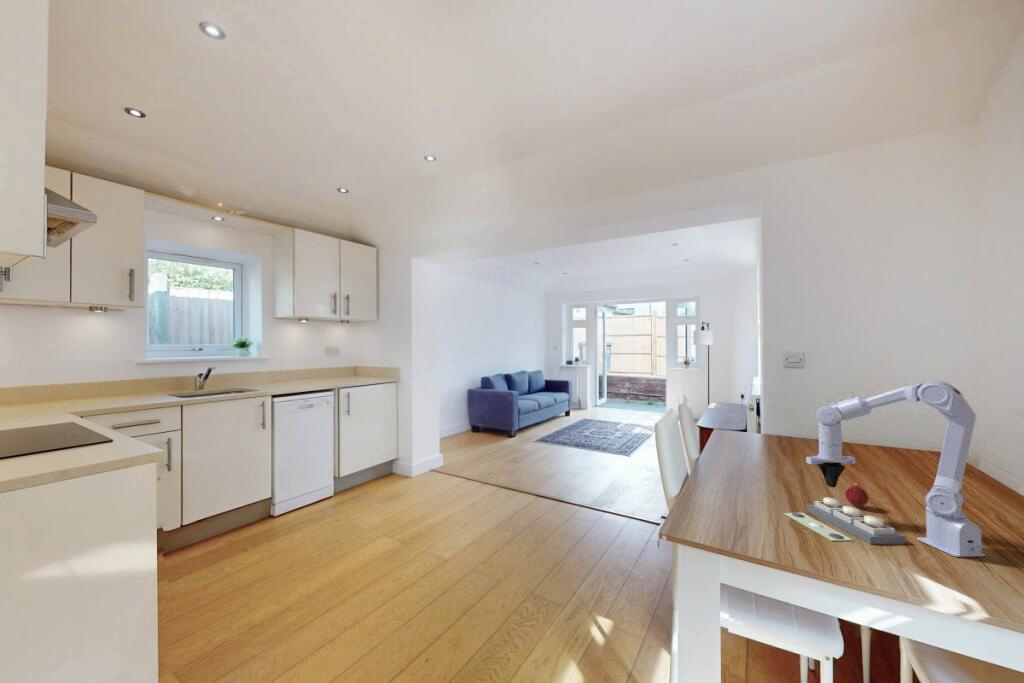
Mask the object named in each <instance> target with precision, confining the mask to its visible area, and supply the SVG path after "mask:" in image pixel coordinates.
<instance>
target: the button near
mask: <svg viewBox="0 0 1024 683" xmlns="http://www.w3.org/2000/svg"><path fill="white" fill-rule="evenodd" d="M884 522H885V521H884V519H882V518H880V517H877V516H874V515H873V516H872V515H865V516H864V523H865V524H866V525H868V526H870V527H874V528H884V524H885V523H884Z"/></svg>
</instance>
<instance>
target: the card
mask: <svg viewBox="0 0 1024 683" xmlns="http://www.w3.org/2000/svg"><path fill="white" fill-rule="evenodd" d="M783 514H784V515H786V516H787V517H789V518H791V519H792V520H794V521H796V522H798V523H799V524H800V525H803V526H805V527H806V528H808V529H810V530H812V531H813V532H815V533H817V534H819V535H821V536H822V537H824V538H826V539H827V540H829V541H831V542H853V541H854V539H852V538H850V537H848V536H847V535H845V534H843V533H841V532H839V531H837V530H836V529H834V528H832V527H831V526H828V525H826V524H825V523H823V522H822V521H821V522H820V521H819V520H817V519H815V518H813V517H811V516H810V515H807V514H806V513H803V512H784V513H783Z"/></svg>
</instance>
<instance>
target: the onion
mask: <svg viewBox="0 0 1024 683" xmlns="http://www.w3.org/2000/svg"><path fill="white" fill-rule="evenodd" d="M844 494H845V495H844V496H845V498H846V500H847V501H848V502H849V504H851V505H852V507H855V508H858V509H860V507H864V506H865V505H866V504H867V503H869V499H870V498H869V495H868V493H867V491H866V490H865V489H863V488H862V487H861V486H859V483H858V482H857V483H856V482H855V483H854V485H853V486H850V487H848V488H847V489H846V490H845V493H844Z"/></svg>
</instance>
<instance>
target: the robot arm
mask: <svg viewBox="0 0 1024 683" xmlns="http://www.w3.org/2000/svg"><path fill="white" fill-rule="evenodd" d="M903 401H909V402H915V403H918V402H919V401H921V402H922V403H924V404H925V405H928V406H929V407H931V408H934V409H936V410H937V411H938V413H939V412H940V413H941V414H942V415H943V416H944V417H945V418H946V419H947V425H946V428H945V429H946V430H945V435H944V438H943V442H942V443H943V444H942V447H941V448H942V449H941V453H940V458H939V463H938V467H937V473H936V476H935V479H934V483H933V486H932V487H931V488H930V491H929V492H928V493H927V494H926V495H925V498H924V499H925V500H924V501H925V504H926V505H927V506H925V529H926V534H925V535H926V537H917V538H916V540H917V541H920V542H922V543H924V544H926V545H929V546H931V547H932V548H936V549H938V550H939V551H942V552H944V553H947V554H948V555H951V556H953V557H956V558H957V557H959V558H963V557H966V558H967V557H969V558H971V557H974V558H975V557H985V556H986V554H985V553H984V552H983V546H982V543H983V542H982V532H981V529H980V527H979V526H978V525H977V524H976V523H975V522H972V521H970V520H969V519H968V518H967V517H966V516H967V515H966V513H965V512H964V511H963V510H962V506H963V504H964V503H965V496H964V494H963V492H962V487H963V479H964V474H965V470H966V465H967V461H968V456H969V451H970V446H971V442H972V438H973V433H974V428H975V423H976V419H977V415H976V413H975V411H974V410H973V409H972V407H971V405H970V404H969V402H968V401H967V400H966V398H965V397H964V396H963V394H962V392H961V391H960V390H959V389H958V388H956V387H955V386H954V385H952V384H950V383H948V382H946V381H943V380H933V381H930V382H926V383H917V384H912V385H905V386H902V387H898V388H895V389H892V390H889V391H886V392H883V393H880V394H878V395H877V394H876V395H874V396H870V397H868V398H867V397H862V396H854V395H852V396H851V395H850V396H848V397H847V399H844V400H842V401H841V400H840V401H838V402H836V401H833V402H831V403H830V404H829V405H823V406H822V407H819V408H818V409H817V410H816V412H815V417H816V419H817V421H818V454H817V455H812V456H806V457H805V463H806V464H808V465H817V467H818V468H819V471H820V472H821V473H822V475H823V476H822V477H824V482H825V484H826V486H827V487H830V488H836V486H837V484H838V481H839V478H840V477H841V474H842V473H843V472H844V471H845V469H846V468H845V465H843V464H851V465H856V457H854V456H850V455H849V456H848V455H847V456H846V455H843V443H842V442H843V437H842V436H843V433H842V423H841V422H843V421H848V420H853V419H857V418H860V417H864V416H866V415H867V416H868V415H870V414H871V413H872V410H873V409H874V408H879V407H883V406H886V405H891V404H894V403H897V402H903ZM982 552H983V553H982Z"/></svg>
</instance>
